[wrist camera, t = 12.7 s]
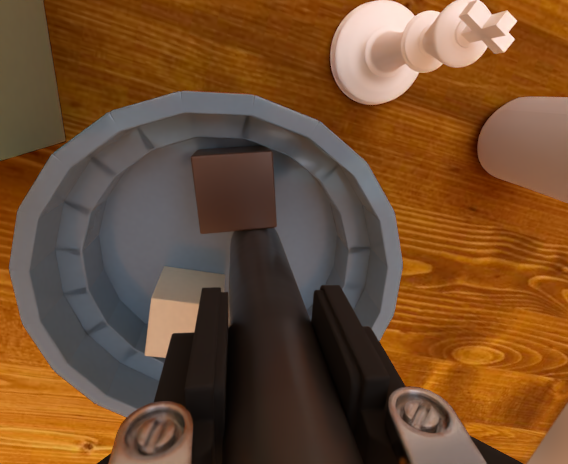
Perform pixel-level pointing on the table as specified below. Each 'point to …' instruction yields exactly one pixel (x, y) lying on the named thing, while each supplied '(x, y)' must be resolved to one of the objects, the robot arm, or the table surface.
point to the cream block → (176, 305)
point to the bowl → (183, 230)
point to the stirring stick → (277, 366)
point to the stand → (27, 81)
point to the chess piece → (410, 45)
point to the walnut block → (234, 189)
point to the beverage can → (528, 144)
